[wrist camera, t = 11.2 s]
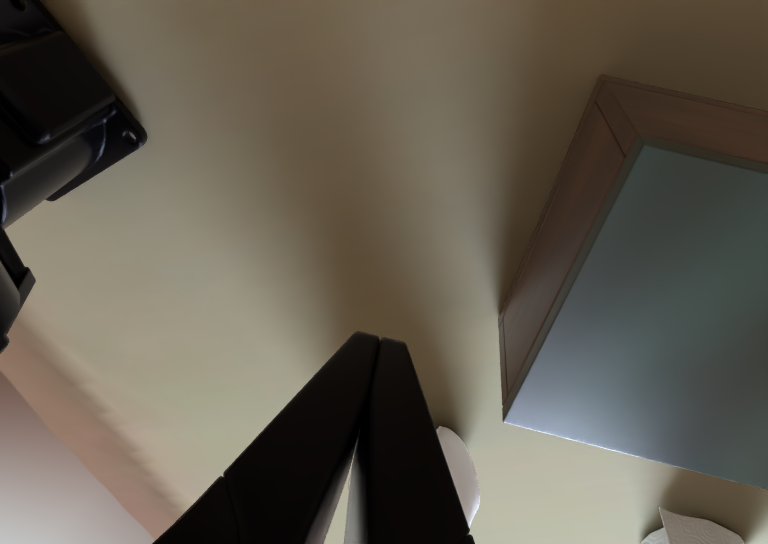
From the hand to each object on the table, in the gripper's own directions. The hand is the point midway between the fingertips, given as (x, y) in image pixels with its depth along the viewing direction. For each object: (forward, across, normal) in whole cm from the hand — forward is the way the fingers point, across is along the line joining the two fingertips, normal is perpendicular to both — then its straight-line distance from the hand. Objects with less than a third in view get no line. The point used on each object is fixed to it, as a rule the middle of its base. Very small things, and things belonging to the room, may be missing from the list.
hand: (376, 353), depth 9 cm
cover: (+8, -12, +4) cm, 15 cm away
